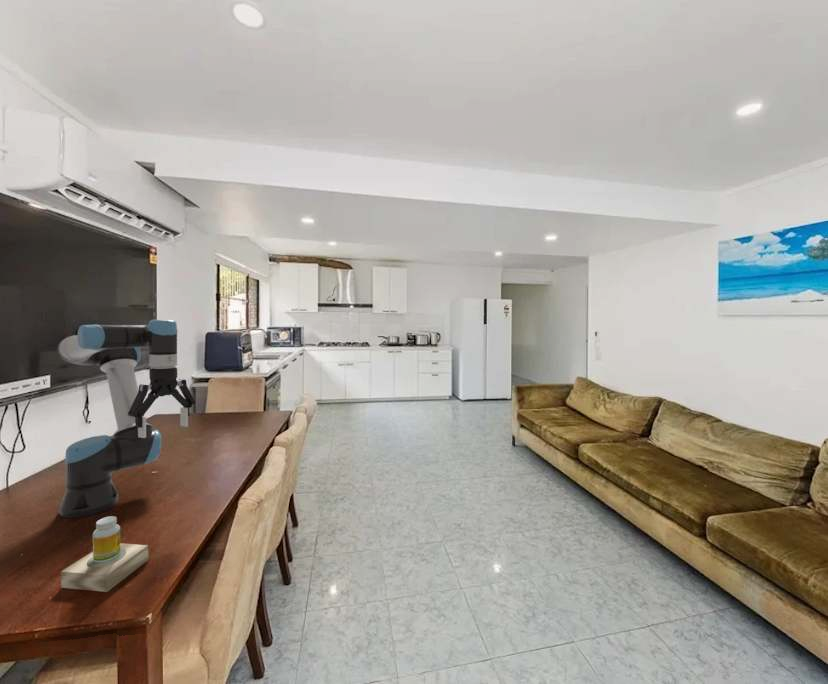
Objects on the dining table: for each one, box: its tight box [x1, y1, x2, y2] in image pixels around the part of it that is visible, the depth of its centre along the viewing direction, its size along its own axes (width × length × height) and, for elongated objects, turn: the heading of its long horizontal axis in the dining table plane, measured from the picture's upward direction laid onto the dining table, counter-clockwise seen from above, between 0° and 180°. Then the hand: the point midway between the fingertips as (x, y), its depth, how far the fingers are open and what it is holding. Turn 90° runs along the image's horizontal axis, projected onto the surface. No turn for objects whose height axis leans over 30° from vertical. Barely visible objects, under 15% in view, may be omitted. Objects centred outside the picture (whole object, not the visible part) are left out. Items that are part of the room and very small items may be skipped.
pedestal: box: [60, 542, 149, 593], centre depth 93 cm, size 12×12×4 cm
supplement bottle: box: [92, 515, 121, 563], centre depth 93 cm, size 5×5×10 cm
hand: (164, 431), depth 120 cm, fingers open, 13 cm apart
